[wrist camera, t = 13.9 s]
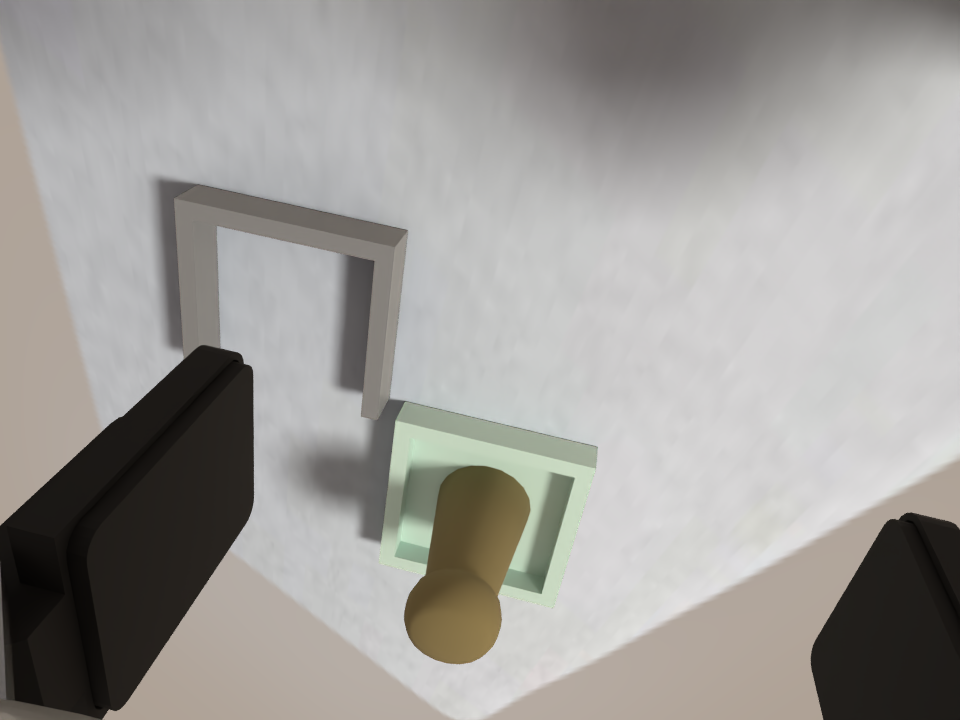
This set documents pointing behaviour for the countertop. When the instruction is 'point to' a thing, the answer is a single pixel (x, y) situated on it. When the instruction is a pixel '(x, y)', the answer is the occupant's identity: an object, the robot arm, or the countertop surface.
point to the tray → (520, 453)
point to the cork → (467, 564)
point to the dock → (296, 225)
